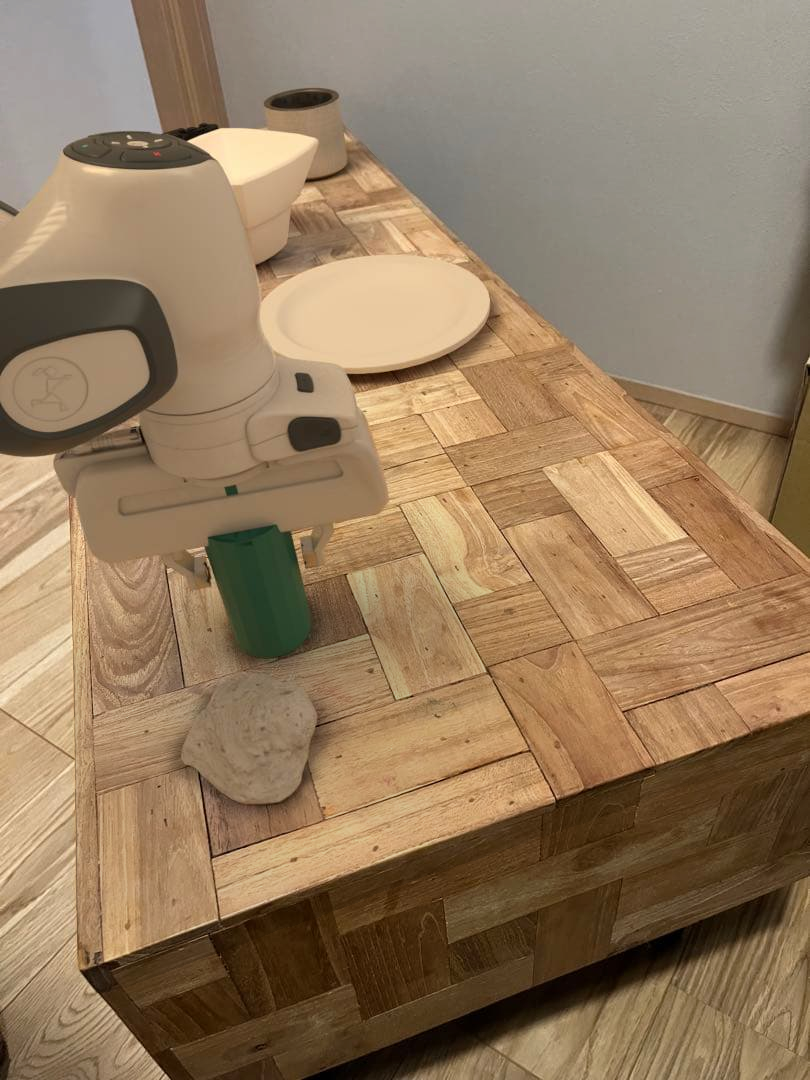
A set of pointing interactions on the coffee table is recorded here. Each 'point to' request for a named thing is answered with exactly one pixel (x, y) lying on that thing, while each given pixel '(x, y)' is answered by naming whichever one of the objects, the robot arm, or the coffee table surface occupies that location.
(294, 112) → the planter
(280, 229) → the bowl
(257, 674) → the stone
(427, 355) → the plate
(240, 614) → the bottle
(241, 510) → the robot arm
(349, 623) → the coffee table surface
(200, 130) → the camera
